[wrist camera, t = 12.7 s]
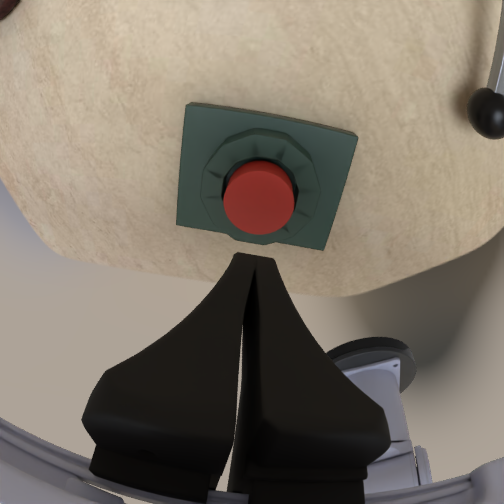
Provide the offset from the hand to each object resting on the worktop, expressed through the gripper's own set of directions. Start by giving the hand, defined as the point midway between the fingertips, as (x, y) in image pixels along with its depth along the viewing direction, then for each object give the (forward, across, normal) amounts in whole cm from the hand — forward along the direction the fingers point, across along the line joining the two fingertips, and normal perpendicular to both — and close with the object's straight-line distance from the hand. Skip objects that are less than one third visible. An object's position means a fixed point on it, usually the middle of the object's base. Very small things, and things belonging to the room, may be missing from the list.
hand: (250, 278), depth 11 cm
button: (+8, 0, 0) cm, 8 cm away
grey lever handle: (+7, -11, -20) cm, 24 cm away
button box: (+10, 0, 0) cm, 10 cm away
